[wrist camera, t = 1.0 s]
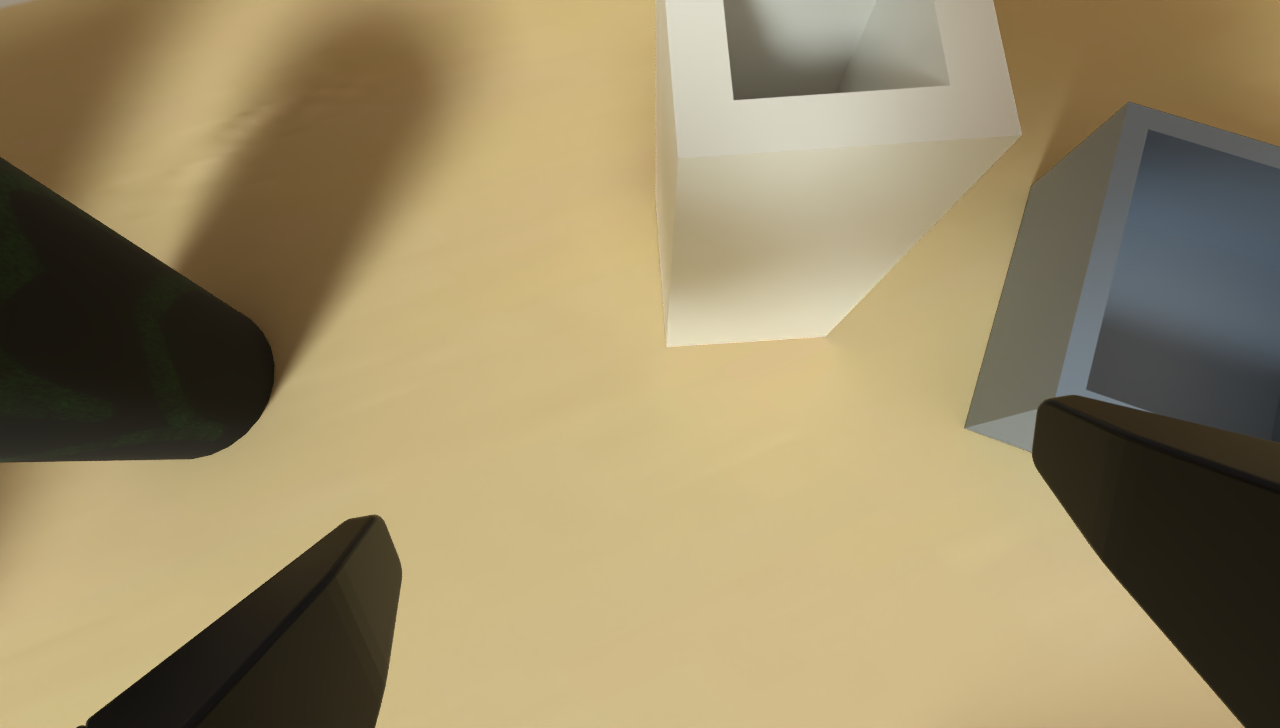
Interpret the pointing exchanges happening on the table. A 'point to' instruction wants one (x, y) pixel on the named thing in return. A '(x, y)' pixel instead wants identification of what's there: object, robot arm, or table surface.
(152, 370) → the cup
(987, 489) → the table surface
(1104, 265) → the low crate
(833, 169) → the white square vase
